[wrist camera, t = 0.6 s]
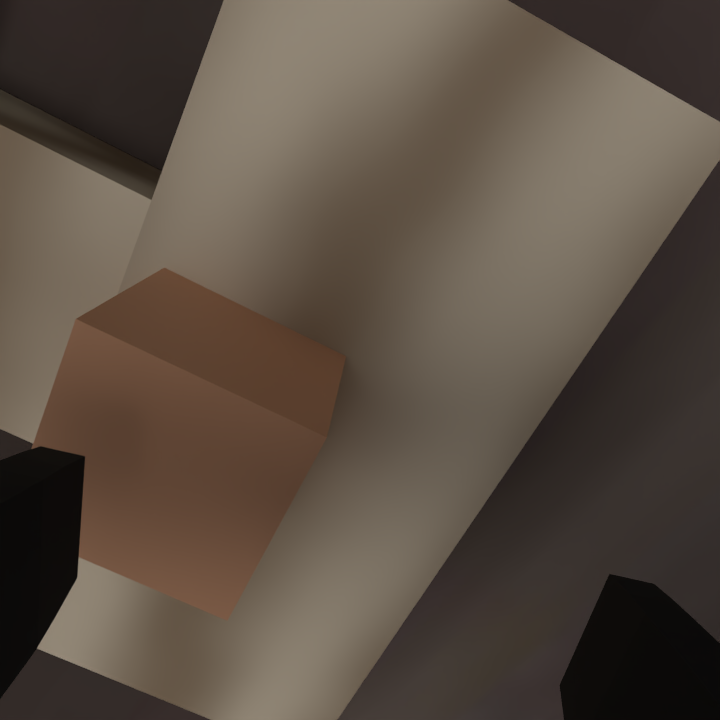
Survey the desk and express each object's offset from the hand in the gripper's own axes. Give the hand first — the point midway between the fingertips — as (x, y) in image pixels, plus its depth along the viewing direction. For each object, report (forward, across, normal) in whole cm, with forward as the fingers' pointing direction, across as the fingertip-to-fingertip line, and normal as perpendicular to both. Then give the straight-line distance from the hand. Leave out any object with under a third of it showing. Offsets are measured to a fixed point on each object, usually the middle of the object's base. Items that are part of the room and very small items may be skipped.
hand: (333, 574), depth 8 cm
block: (+6, +3, +1) cm, 7 cm away
